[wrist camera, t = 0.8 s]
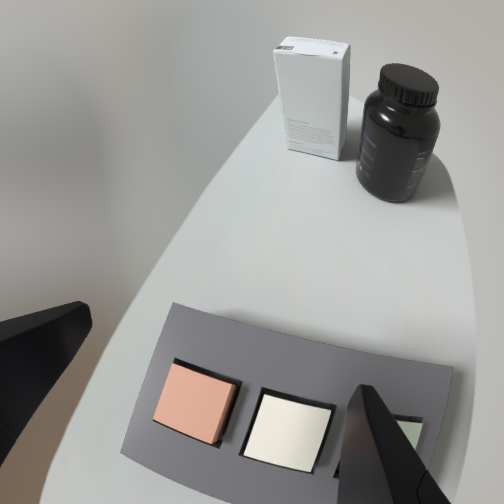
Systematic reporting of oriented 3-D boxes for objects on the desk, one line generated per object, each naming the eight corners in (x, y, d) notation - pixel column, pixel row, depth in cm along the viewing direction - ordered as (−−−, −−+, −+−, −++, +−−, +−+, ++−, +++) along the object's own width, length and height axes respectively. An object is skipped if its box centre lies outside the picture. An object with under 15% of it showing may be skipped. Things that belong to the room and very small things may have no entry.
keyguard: (388, 512, 13) (402, 528, 10) (142, 447, 18) (120, 452, 15) (432, 372, 18) (453, 366, 15) (189, 315, 23) (173, 302, 20)
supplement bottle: (404, 154, 28) (428, 62, 18) (425, 203, 25) (468, 106, 14) (347, 155, 29) (357, 54, 18) (362, 206, 26) (388, 97, 15)
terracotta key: (221, 438, 17) (211, 443, 14) (168, 417, 18) (152, 418, 15) (239, 385, 18) (231, 384, 16) (185, 367, 19) (172, 363, 17)
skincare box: (346, 138, 30) (354, 42, 20) (338, 164, 28) (347, 59, 18) (294, 126, 32) (288, 33, 21) (282, 151, 30) (271, 49, 20)
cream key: (308, 462, 15) (310, 472, 13) (249, 448, 16) (243, 454, 14) (326, 408, 17) (331, 410, 14) (267, 394, 18) (264, 394, 16)
